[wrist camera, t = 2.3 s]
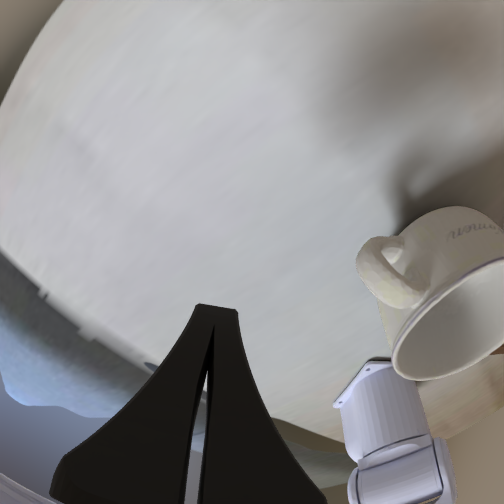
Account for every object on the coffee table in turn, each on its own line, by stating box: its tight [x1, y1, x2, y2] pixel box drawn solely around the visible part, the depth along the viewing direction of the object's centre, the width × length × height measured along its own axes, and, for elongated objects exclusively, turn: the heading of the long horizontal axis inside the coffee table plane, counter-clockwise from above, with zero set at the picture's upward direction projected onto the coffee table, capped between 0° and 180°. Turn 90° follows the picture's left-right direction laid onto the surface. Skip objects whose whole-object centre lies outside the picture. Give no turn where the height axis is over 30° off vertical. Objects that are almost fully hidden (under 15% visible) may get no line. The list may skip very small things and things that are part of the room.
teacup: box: [356, 206, 504, 381], centre depth 16 cm, size 14×11×8 cm
